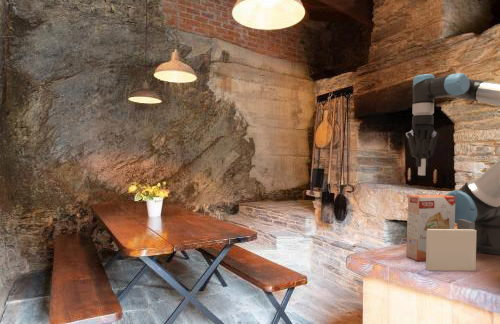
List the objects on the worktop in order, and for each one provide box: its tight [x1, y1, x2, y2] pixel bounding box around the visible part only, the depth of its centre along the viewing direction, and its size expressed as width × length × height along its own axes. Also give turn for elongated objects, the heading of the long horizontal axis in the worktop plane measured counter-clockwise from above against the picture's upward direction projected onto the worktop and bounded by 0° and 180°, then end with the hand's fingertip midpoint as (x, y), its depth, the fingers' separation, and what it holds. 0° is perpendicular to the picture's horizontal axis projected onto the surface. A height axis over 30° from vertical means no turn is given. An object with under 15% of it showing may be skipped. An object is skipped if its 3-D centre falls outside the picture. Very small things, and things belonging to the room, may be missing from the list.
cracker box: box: [405, 194, 456, 262], centre depth 112 cm, size 14×6×21 cm, turn 103°
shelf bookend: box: [425, 219, 477, 272], centre depth 104 cm, size 14×8×14 cm, turn 91°
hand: (421, 175), depth 133 cm, fingers closed
